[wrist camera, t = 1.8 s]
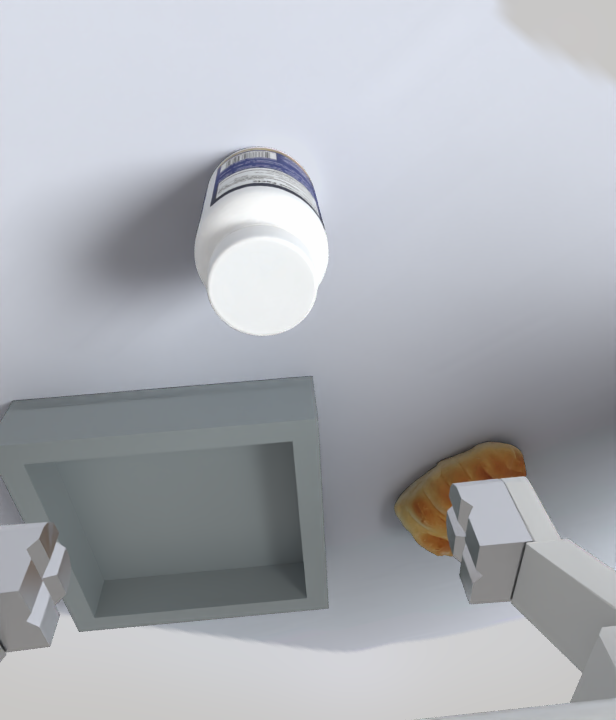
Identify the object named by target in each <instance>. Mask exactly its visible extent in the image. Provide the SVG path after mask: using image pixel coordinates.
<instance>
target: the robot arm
mask: <svg viewBox="0 0 616 720" xmlns="http://www.w3.org/2000/svg"><path fill="white" fill-rule="evenodd" d="M449 498H450V501H451V504H452V507H451V508H450V509H449V510H448V511H447V517H446V527H447V537H448V541H449V545H450V548H451V552H452V555H453V557H455V558H456V559H457V560H458V561H460V562H461V567H460V574H459V575H460V578H461V581H462V584H463V587H464V590H465V593H466V596H467V598H468V601H469V604H479V603H493V602H507V601H512V602H511V604H512V605H513V606H514V607H516V608H517V609H518V610H519V611H520V612H521V613H522V614H523V615H524V616H525V617H526V618H527V619H528V620H529V621H530V622H531V623H532V624H533V625H534V626H535V627H536V628H537V629H538V630H539V631H540V632H541V633H542V634H543V635H544V636H545V637H546V638H547V639H548V640H549V641H550V642H551V643H552V644H553V645H554V646H555V647H557V648H558V649H559V650H560V651H561V652H562V653H563V654H564V655H565V656H566V657H567V658H568V659H569V660H570V661H571V662H572V663H573V664H574V665H575V666H576V667H577V668H578V669H579V670H580V671H581V672H582V676H581V678H580V680H579V683H578V685H577V688H576V690H575V692H574V695H573V697H572V699H571V702H570V703H565V704H555V705H546V706H538V707H528V708H518V709H509V710H500V711H491V712H481V713H472V714H463V715H454V716H445V717H435V718H426V719H417V720H616V571H615V570H613V569H612V568H610V567H609V566H607V565H606V564H605V563H603V562H602V561H600V560H599V559H597V558H596V557H594V556H593V555H591V554H590V553H588V552H587V551H585V550H584V549H583V548H581V547H580V546H578V545H577V544H575V543H574V542H572V541H571V540H569V539H561V538H560V536H559V535H558V533H557V531H556V529H555V527H554V525H553V524H552V522H551V520H550V518H549V516H548V514H547V513H546V511H545V509H544V507H543V505H542V503H541V502H540V500H539V498H538V496H537V494H536V493H535V491H534V489H533V487H532V485H531V483H530V482H529V480H528V479H527V478H526V477H524V476H522V477H512V478H501V479H489V480H480V481H470V482H461V483H452V485H451V487H450V492H449ZM58 535H59V532H58V530H57V528H56V526H55V524H54V522H42V523H28V524H13V525H0V662H1V661H2V659H3V658H4V657H5V656H6V653H5V652H12V651H20V650H28V649H35V648H43V647H50V645H51V642H52V639H53V636H54V632H55V629H56V626H57V623H58V620H59V616H60V614H59V612H58V610H57V608H56V606H55V605H56V604H57V603H58V602H59V601H60V600H61V599H62V598H63V597H64V596H65V595H66V593H67V590H68V586H69V583H70V574H71V563H70V557H69V554H68V552H67V549H66V547H64V546H62V545H61V544H59V543H57V542H56V541H57V538H58Z"/></svg>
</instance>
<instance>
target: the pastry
mask: <svg viewBox="0 0 616 720" xmlns="http://www.w3.org/2000/svg"><path fill="white" fill-rule="evenodd" d="M522 476H524V477H526V468H525V463H524V459H523V455H522V453H521V451H520V450H519V449H517V448H516V447H515V446H513V445H510V444H506V443H499V442H485V443H481V444H478V445H476V446H474V447H473V448H472V449H470V450H468V451H466V452H463V453H460V454H458V455H456V456H453V457H450V458H446V459H444V460H442V461H440V462H438V463H437V466H436V467H434V468H433V469H431V470H429V471H428V472H427V473H426V474H424V475H423V476H422V477H420V478H419V479H417V480H416V481H415V482H414V483H412V484H411V485H410V486H409V487H408V488H407V489H406V490H405V491H404V492H403V493H402V494H401V496H400V497H399V498H398V500H397V502H396V503H395V506H394V510H395V513H396V515H397V517H398V518H399V520H400V521H401V523H402V524H403V526H404V527H405V529H406V530H408V531H409V532H410V533H411V534H412V536H413V538H414V539H415V541H416V542H417V543H418V544H419V545H421V546H422V547H423V548H425V549H426V550H428V551H429V552H431V553H433V554H435V555H437V556H443V555H447V556H453V555H452V552H451V548H450V545H449V541H448V537H447V527H446V517H447V511H448V510H449V509H450V508H451V507H452V504H451V501H450V498H449V492H450V487H451V485H452V483H461V482H470V481H480V480H489V479H501V478H512V477H522Z"/></svg>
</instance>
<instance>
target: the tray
mask: <svg viewBox="0 0 616 720" xmlns="http://www.w3.org/2000/svg"><path fill="white" fill-rule="evenodd" d="M0 475H1V477H2V479H3V481H4V483H5V485H6V487H7V489H8V491H9V493H10V495H11V497H12V499H13V501H14V503H15V505H16V507H17V509H18V511H19V513H20V515H21V517H22V519H23V521H24V523H25V524H28V523H42V522H54V524H55V526H56V528H57V530H58V532H59V535H58V538H57V541H56V542H57V543H59V544H61V545H62V546H64V547H66V549H67V552H68V554H69V557H70V563H71V574H70V583H69V586H68V590H67V593H66V595H65V596H64V597H63V598H62V599H63V601H64V603H65V605H66V607H67V609H68V611H69V613H70V615H71V617H72V619H73V620H74V623H75V625H76V627H77V629H78V631H79V632H83V631H92V630H104V629H114V628H125V627H136V626H147V625H157V624H168V623H179V622H190V621H200V620H211V619H222V618H232V617H243V616H254V615H264V614H275V613H286V612H296V611H307V610H318V609H328V608H329V605H328V588H327V570H326V552H325V535H324V517H323V499H322V482H321V464H320V446H319V428H318V415H317V407H316V399H315V391H314V384H313V376H307V377H295V378H283V379H271V380H259V381H246V382H234V383H222V384H210V385H198V386H186V387H174V388H162V389H150V390H138V391H126V392H114V393H102V394H90V395H78V396H66V397H54V398H42V399H30V400H18V401H12V403H11V405H10V406H9V408H8V410H7V412H6V413H5V415H4V417H3V419H2V420H1V422H0Z"/></svg>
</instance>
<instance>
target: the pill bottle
mask: <svg viewBox="0 0 616 720" xmlns="http://www.w3.org/2000/svg"><path fill="white" fill-rule="evenodd" d="M328 254H329V250H328V241H327V236H326V232H325V228H324V224H323V221H322V217H321V213H320V210H319V206H318V202H317V198H316V194H315V190H314V187H313V184H312V182H311V180H310V178H309V176H308V174H307V172H306V171H305V169H304V168H303V167H302V166H301V165H300V164H299V163H298V162H297V161H296V160H295V159H294V158H292V157H291V156H289V155H288V154H286V153H284V152H282V151H280V150H277V149H274V148H269V147H250V148H245V149H242V150H239V151H237V152H235V153H233V154H231V155H230V156H228V157H227V158H226V159H225V160H224V161H223V162H222V163H221V164H220V165H219V166H218V167H217V168H216V170H215V171H214V173H213V175H212V177H211V179H210V181H209V184H208V187H207V191H206V195H205V199H204V203H203V208H202V213H201V217H200V221H199V225H198V229H197V233H196V239H195V248H194V256H195V264H196V268H197V271H198V274H199V277H200V279H201V281H202V283H203V284H204V286H205V287H206V289H207V294H208V298H209V301H210V304H211V306H212V307H213V309H214V311H215V312H216V314H217V315H218V316H219V317H220V318H221V319H222V321H223V322H225V323H226V324H227V325H229V326H230V327H232V328H234V329H235V330H238V331H240V332H243V333H246V334H250V335H256V336H268V335H275V334H279V333H283V332H285V331H287V330H289V329H291V328H293V327H295V326H296V325H297V324H299V323H300V322H301V321H302V320H303V319H304V318H305V317H306V316H307V315H308V313H309V312H310V310H311V309H312V307H313V305H314V302H315V299H316V295H317V288H318V287H319V285H320V283H321V281H322V279H323V277H324V275H325V272H326V269H327V264H328Z"/></svg>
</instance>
